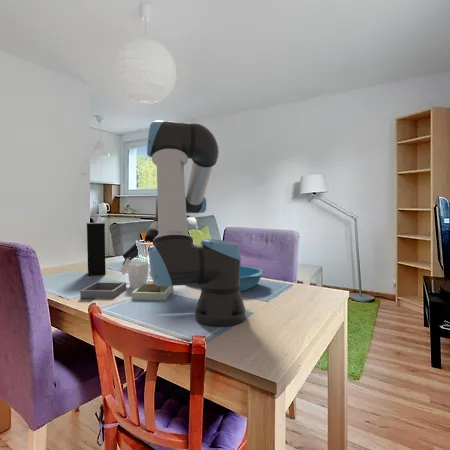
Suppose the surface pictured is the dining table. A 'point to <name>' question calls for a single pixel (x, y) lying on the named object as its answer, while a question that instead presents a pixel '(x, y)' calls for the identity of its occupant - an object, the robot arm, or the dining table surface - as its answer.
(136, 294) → the sage tray
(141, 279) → the white cup
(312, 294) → the dining table surface
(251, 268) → the casserole dish
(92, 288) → the charcoal tray
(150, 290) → the letter cube
